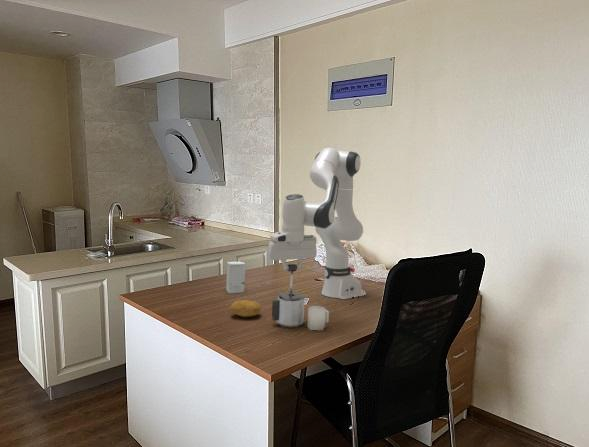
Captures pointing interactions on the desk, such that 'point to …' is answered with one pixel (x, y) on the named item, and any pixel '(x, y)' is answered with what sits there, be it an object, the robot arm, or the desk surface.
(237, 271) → the skincare box
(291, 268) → the plunger
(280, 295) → the carafe
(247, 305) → the potato
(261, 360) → the desk surface
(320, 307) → the white ceramic cylinder
